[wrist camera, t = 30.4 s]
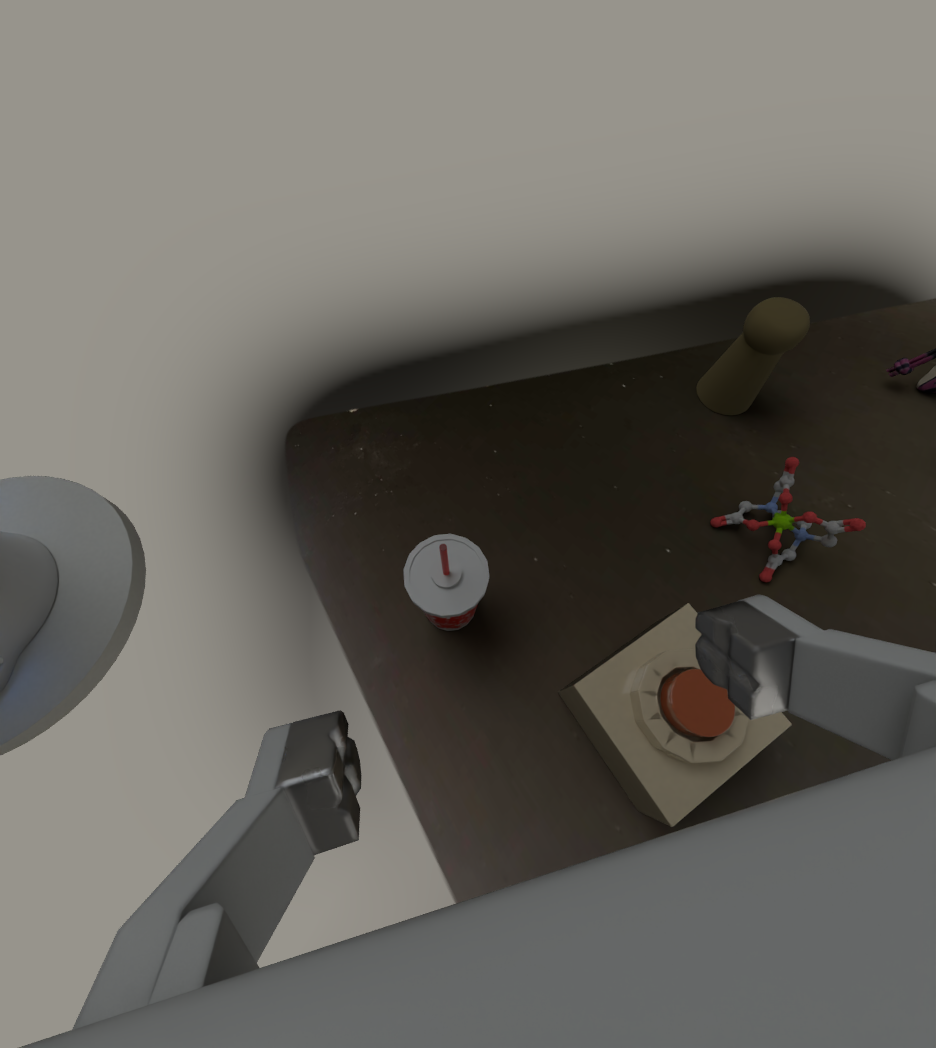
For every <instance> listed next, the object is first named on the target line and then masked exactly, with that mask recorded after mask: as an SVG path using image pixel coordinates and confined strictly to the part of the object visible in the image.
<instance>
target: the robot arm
mask: <svg viewBox="0 0 936 1048" xmlns="http://www.w3.org/2000/svg"><path fill="white" fill-rule="evenodd" d="M57 587H58V571H57V566H56V563H55V560H54V558H53V556H52V554H51V553H50V551H49V550H48V549H47V548H46V547H45V546H44V545H43V544H42V543H40V542H39V541H37V540H36V539H34V538H31V537H29V536H25V535H21V534H15V533H8V532H2V531H0V692H1V691H2V690H3V689H4V688H5V686H6V684H7V683H8V681H9V679H10V677H11V674H12V672H13V670H14V667H15V665H16V662H17V659H18V657H19V656H20V654H21V653H22V651H23V650H24V649H25V647H26V646H27V645H28V644H29V643H30V641H31V640H32V639H33V638H34V636H35V635H36V634H37V633H38V631H39V630H40V628H41V627H42V625H43V624H44V622H45V620H46V619H47V617H48V615H49V613H50V611H51V608H52V606H53V603H54V600H55V597H56V593H57ZM695 628H696V629H697V630H698V631H699V632H700V633H701V636H700V637H699V639H698V641H697V642H696V644H695V651H696V659H697V661H698V664H699V667H700V669H701V670H702V672H703V673H704V675H705V676H706V677H707V678H708V679H709V680H710V681H711V682H712V683H713V684H714V685H716V686H719V687H722V688H724V689H727V693H728V699H729V700H730V701H731V702H732V703H733V704H734V705H735V706H736V707H738V708H739V709H740V710H741V711H742V712H743V713H744V714H745V715H746V716H747V717H748V718H749V719H750V720H753V719H757V718H761V717H764V716H768V715H772V714H775V713H779V712H783V711H786V710H788V712H789V713H791V714H793V715H796V716H798V717H800V718H802V719H804V720H806V721H809V722H811V723H813V724H815V725H817V726H819V727H822V728H824V729H826V730H828V731H830V732H832V733H835V734H837V735H839V736H841V737H843V738H845V739H848V740H850V741H852V742H854V743H856V744H859V745H861V746H863V747H865V748H867V749H869V750H872V751H874V752H876V753H878V754H880V755H882V756H885V757H887V758H889V759H891V760H892V761H889V762H886V763H883V764H880V765H877V766H874V767H871V768H868V769H865V770H862V771H858V772H855V773H852V774H849V775H846V776H843V777H840V778H837V779H834V780H831V781H828V782H825V783H822V784H819V785H816V786H813V787H810V788H807V789H804V790H801V791H798V792H795V793H792V794H788V795H785V796H782V797H779V798H776V799H773V800H770V801H767V802H764V803H761V804H758V805H755V806H752V807H749V808H746V809H743V810H740V811H737V812H734V813H731V814H728V815H725V816H722V817H719V818H715V819H712V820H709V821H706V822H703V823H700V824H697V825H694V826H691V827H688V828H685V829H682V830H679V831H676V832H673V833H670V834H667V835H664V836H661V837H658V838H655V839H652V840H649V841H646V842H643V843H640V844H637V845H633V846H630V847H627V848H624V849H621V850H618V851H615V852H612V853H609V854H606V855H603V856H600V857H597V858H594V859H591V860H588V861H585V862H582V863H579V864H576V865H573V866H570V867H567V868H564V869H561V870H557V871H554V872H551V873H548V874H545V875H542V876H539V877H536V878H533V879H530V880H527V881H524V882H521V883H518V884H515V885H512V886H509V887H506V888H503V889H499V890H496V891H493V892H490V893H487V894H484V895H481V896H478V897H475V898H472V899H469V900H466V901H463V902H460V903H457V904H454V905H451V906H448V907H445V908H442V909H439V910H435V911H433V912H429V913H426V914H423V915H420V916H417V917H414V918H411V919H408V920H405V921H402V922H399V923H396V924H393V925H390V926H387V927H384V928H381V929H378V930H375V931H372V932H369V933H366V934H363V935H360V936H356V937H353V938H350V939H348V940H344V941H341V942H338V943H335V944H332V945H329V946H326V947H323V948H320V949H317V950H314V951H311V952H308V953H305V954H302V955H299V956H296V957H293V958H290V959H287V960H284V961H280V962H277V963H275V964H271V965H268V966H265V967H262V968H259V966H258V965H257V961H258V960H259V958H260V956H261V954H262V952H263V950H264V949H265V947H266V945H267V943H268V941H269V940H270V938H271V936H272V934H273V932H274V930H275V929H276V927H277V925H278V923H279V922H280V920H281V918H282V916H283V914H284V912H285V911H286V909H287V907H288V905H289V904H290V901H291V900H292V898H293V896H294V894H295V893H296V891H297V889H298V887H299V885H300V884H301V882H302V880H303V878H304V876H305V874H306V872H307V871H308V869H309V867H310V866H311V864H312V862H313V860H314V855H316V854H319V853H322V852H325V851H328V850H331V849H334V848H337V847H340V846H343V845H346V844H349V843H352V842H355V841H358V840H359V821H360V807H359V804H358V801H357V798H356V795H357V793H358V792H359V790H360V789H361V768H360V759H359V755H358V751H357V747H356V744H355V742H354V740H352V739H351V738H349V737H347V736H348V722H347V720H346V717H345V715H344V713H343V712H342V711H336V712H332V713H328V714H324V715H320V716H316V717H312V718H308V719H304V720H301V721H296V722H293V723H290V724H286V725H282V726H278V727H274V728H270V729H269V730H268V731H267V732H266V733H265V734H264V737H263V740H262V744H261V747H260V750H259V753H258V756H257V760H256V763H255V766H254V769H253V772H252V776H251V779H250V782H249V785H248V788H247V792H246V795H245V798H242V799H239V800H237V801H236V802H235V803H234V804H233V805H232V806H231V807H230V808H229V809H228V810H227V811H226V813H225V814H224V815H223V816H222V817H221V818H220V819H219V820H218V821H217V823H216V824H215V825H214V826H213V827H212V828H211V829H210V830H209V831H208V833H206V835H205V836H204V837H203V838H202V839H201V840H200V841H199V843H197V844H196V846H195V847H194V848H193V849H192V850H191V851H190V852H189V853H188V854H187V855H186V856H185V858H184V859H183V860H182V861H181V862H180V863H179V864H178V865H177V866H176V867H175V869H174V870H173V871H172V872H171V873H170V874H169V875H168V876H167V877H166V878H165V879H164V881H163V882H162V883H161V884H160V885H159V886H158V887H157V888H156V889H155V890H154V892H153V893H152V894H151V895H150V896H149V897H148V898H147V899H146V900H145V901H144V903H143V904H142V905H141V906H140V907H139V908H138V909H137V910H136V911H135V912H134V913H133V915H132V916H131V917H130V918H129V919H128V920H127V921H126V922H125V923H124V925H122V927H121V928H120V929H119V930H118V932H117V934H116V936H115V938H114V940H113V942H112V945H111V947H110V949H109V951H108V953H107V955H106V958H105V960H104V962H103V964H102V966H101V968H100V971H99V973H98V975H97V977H96V979H95V981H94V984H93V986H92V988H91V990H90V992H89V994H88V997H87V999H86V1001H85V1003H84V1006H83V1007H82V1010H81V1012H80V1014H79V1016H78V1018H77V1020H76V1023H75V1025H74V1027H73V1029H72V1030H71V1031H68V1032H65V1033H62V1034H59V1035H56V1036H53V1037H50V1038H47V1039H44V1040H41V1041H38V1042H35V1043H31V1044H28V1045H25V1046H22V1047H19V1048H936V653H933V652H929V651H924V650H920V649H916V648H911V647H907V646H902V645H898V644H894V643H889V642H885V641H880V640H876V639H872V638H867V637H863V636H858V635H854V634H850V633H845V632H841V631H836V630H832V629H829V630H825V631H823V630H822V629H820V628H818V627H817V626H815V625H813V624H812V623H810V622H808V621H807V620H805V619H803V618H802V617H800V616H798V615H797V614H795V613H793V612H792V611H790V610H788V609H787V608H785V607H783V606H782V605H780V604H778V603H777V602H775V601H773V600H772V599H770V598H768V597H767V596H763V595H756V596H752V597H749V598H746V599H742V600H739V601H738V602H734V603H731V604H727V605H723V606H720V607H716V608H713V609H709V610H706V611H702V612H698V614H697V616H696V619H695Z"/></svg>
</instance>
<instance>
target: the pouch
mask: <svg viewBox="0 0 936 1048" xmlns="http://www.w3.org/2000/svg"><path fill="white" fill-rule="evenodd" d="M928 356H929V357H928ZM935 358H936V349H934V350H931V351H929V352H927V353H925V354H922V355H920V356H918V357H915V358H913V359H911V360H908V359H907V358H902V359H900V360H898V361H896V362H895V364H894V367H891V368H889V369H887V370H886V371H887V372H892V373H890V374H889V375H890V376H891V377H893V376H896V375H898V374H902V375H906V374H908V373H910V372H912V371H913V370H914V367H917V366H919V365H921V364H924V363H926V362H928V361H930V360H933V359H935ZM921 359H922V360H921ZM919 360H920V361H919ZM895 370H896V371H895ZM893 371H894V372H893ZM917 389H919V390H920V391H922V392H928V393H936V366H934V367H933V369H932V370H931V371H930V372H929V373H928V374H926V375H925V376H924V377H923V378H922V379H921V380H920V381H919V382H918V384H917Z"/></svg>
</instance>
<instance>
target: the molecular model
mask: <svg viewBox="0 0 936 1048" xmlns="http://www.w3.org/2000/svg"><path fill="white" fill-rule="evenodd" d="M785 465H786V466H785V469H784V473H783V476H782V477H781V478H780V480H779V481H777V482H776V483H775V484H774V489H775V490H776V492H775V494H774V496H773V499H772V501H771V502H769V503H767V504H766V505H752V504H751V503H750V502H748V501H743V502H741V503H740V505H739V509H740V511H739V512H738V513H737V512H736V513H733V514H730V515H725V516H721V517H715V518H713V519H712V520H711V522H710V523H711V525H712V526H713V527H720V526H724V525H729V524H740V523H743V524H745V525H747V528H748V529H749V530H751V531H754V530H757V529H758V528H759V527H760V526H769V525H774V527H775V528H777V530H776V533H775V536H774V539H773V540H771V541H770V542H769V543H768V547H769V548H770V549H771V550H772V555H771V556H769V558H768V563H767V565H766V567H765V568H764V570H763V572H762V573H761V574H760V575H759V578H760V580H761V581H763V582H769V581H771V579H772V574H773V573H774V571H775V569H776V567H777V566H779V565H781V564H782V562H783V560H784V559H785V560H787V561H791V560H794V559H795V558H796V553H795V550H796V548H797V547H798V545H799V544H800V542H801V541H804V540H806V539H809V540H814V541H819V542H821V543H822V545H823V546H826V547H832V546H834V545H836V543H837V539H836V537H834V534H837V533H840V532H850V531H861V530H863V529H864V528H865V526H866V524H865V521H863V520H862V519H858V518H856V519H848V520H840V521H830V522H826V521H824V520H821V519H819V518H817V517H816V514H815V513H813V512H806V513H804V514H803V516H800V517H791V516H790V515H788V514H786V512H787V506H788V504H789V503H790V502H791V501H792V495H791V494H789V487H791V486H792V485H793V484H794V478H793V476H794V472H795V469H796V467H797V466H798V465H799V460H798V459H797V458H795V457H790V458H788V459H787V460H786V462H785ZM781 492H783V494H781V495H780V493H781ZM778 498H779V501H780V502H781V503H782V507H781V510H777V509H778V506H777V504H776V502H777V500H778ZM751 509H760V510H766V511H767V512H769V513H773V515H772V518H773V519H772V520H771V521H763V522H758V521H756V520H750V521H748V520H745V519H743V516H742V515H743V513H744V512H745V513H746V512H749V511H750V510H751ZM728 519H730V520H728ZM724 520H727V521H724ZM813 522H814V523H817V524H819V525H821V526H824V527H825V530H826V531H827V532H828V535H825V536H823V537H819V536H814V535H809V534H808V533H807V532H806V529H808V528H810V527H811V525H812V523H813ZM792 523H797V525H798V527H799V528H800V530H797V529H796V528H795V527H793V526H792ZM849 524H850V526H848V527H841V525H849ZM786 529H789V530H791V531H792V532H793V533H795V538H796V540H795V541H794V543H793V544H792V546H791V547H790V549H785V550H784V551H783V552H782V555H778V550H779V549H780V548H781V543H780V542H779V540H780V537H781V534H782V530H786Z"/></svg>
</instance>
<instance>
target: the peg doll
mask: <svg viewBox="0 0 936 1048" xmlns="http://www.w3.org/2000/svg"><path fill="white" fill-rule="evenodd" d="M809 324H810V318H809V315H808V312H807V311H806V310H805V309H804V307H802V306H801V305H800V304H799V303H797V302H795V301H793V300H790V299H787V298H780V297H775V298H769V299H767V300H765V301H763V302H761V303H759V304H758V305H756V306H755V307H754V308H753V309H752V311H751V312H750V313H749V314H748V316H747V318H746V320H745V323H744V327H743V333H742V334H741V335H740V336H739V337H738V339H737V340H736V341H735V342H734V343H733V344H732V345H731V346H730V347H729V348H728V350H727V351H726V352H725V353H724V354H723V355H722V356H721V357H720V358H719V359H718V361H717V362H716V363H715V364H714V365H713V366H712V367H711V368H710V369H709V370H708V371H707V373H706V374H705V375H704V376H703V377H702V378H701V379H700V380H699V382H698V384H697V395H698V397H699V399H700V400H701V402H702V403H703V404H704V405H705V406H706V407H707V408H709V409H711V410H712V411H714V412H716V413H720V414H723V415H738V414H741V413H743V412H745V411H747V409H748V408H749V407H750V406H751V404H752V403H753V401H754V399H755V398H756V396H757V395H758V393H759V391H760V390H761V388H762V387H763V385H764V383H765V382H766V380H767V379H768V377H769V375H770V374H771V372H772V371H773V369H774V367H775V366H776V364H777V363H778V361H779V359H780V358H781V356H782V355H783V353H784V352H787V351H789V350H791V349H792V348H794V347H795V346H797V345H798V344H799V343H800V341H801V340H802V339H803V338H804V337H805V335H806V334H807V332H808V329H809Z"/></svg>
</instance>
